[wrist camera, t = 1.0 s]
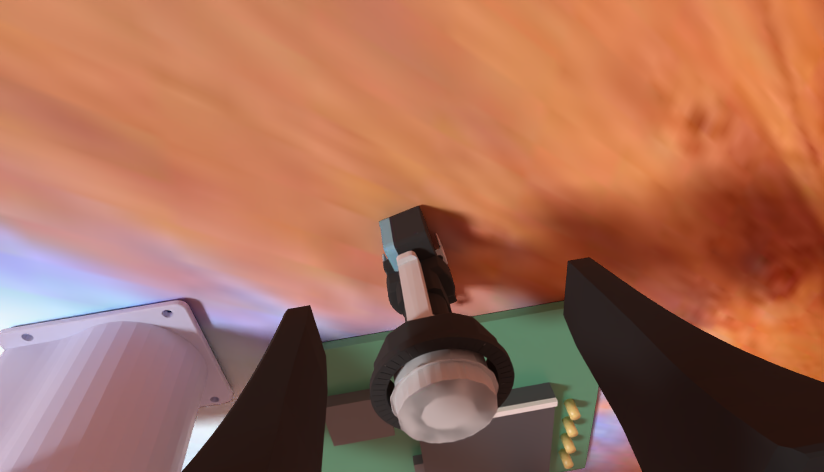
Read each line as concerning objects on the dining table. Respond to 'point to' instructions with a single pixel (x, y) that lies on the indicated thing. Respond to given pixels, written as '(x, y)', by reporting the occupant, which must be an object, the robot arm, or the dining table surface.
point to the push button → (433, 345)
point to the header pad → (503, 438)
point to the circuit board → (514, 330)
